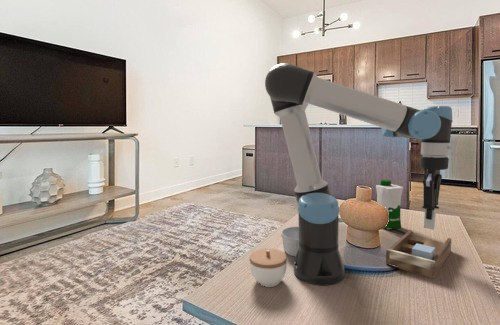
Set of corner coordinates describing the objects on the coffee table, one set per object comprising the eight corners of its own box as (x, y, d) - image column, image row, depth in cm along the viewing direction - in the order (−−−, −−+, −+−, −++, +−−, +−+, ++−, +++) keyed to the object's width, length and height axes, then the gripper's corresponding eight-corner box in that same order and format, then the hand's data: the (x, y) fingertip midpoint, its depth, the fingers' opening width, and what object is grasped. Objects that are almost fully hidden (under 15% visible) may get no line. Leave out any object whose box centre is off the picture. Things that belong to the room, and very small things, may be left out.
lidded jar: (284, 271, 88) (283, 242, 87) (290, 290, 77) (289, 258, 76) (249, 273, 88) (248, 244, 86) (251, 292, 77) (250, 260, 76)
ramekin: (319, 245, 107) (319, 227, 106) (318, 261, 94) (318, 240, 93) (284, 242, 110) (284, 225, 109) (278, 257, 98) (278, 238, 97)
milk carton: (389, 222, 129) (390, 178, 126) (404, 228, 120) (406, 182, 118) (372, 224, 126) (373, 180, 124) (387, 231, 118) (388, 184, 115)
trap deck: (386, 264, 90) (386, 249, 89) (409, 241, 107) (409, 228, 106) (433, 278, 81) (434, 262, 80) (450, 251, 98) (451, 237, 97)
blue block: (411, 260, 86) (411, 248, 86) (416, 255, 90) (416, 243, 90) (430, 266, 83) (430, 253, 83) (434, 260, 86) (435, 247, 86)
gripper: (444, 158, 82) (437, 236, 85) (453, 155, 91) (447, 225, 94) (415, 156, 87) (410, 230, 90) (426, 153, 96) (421, 220, 99)
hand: (429, 228), depth 92 cm, fingers closed
